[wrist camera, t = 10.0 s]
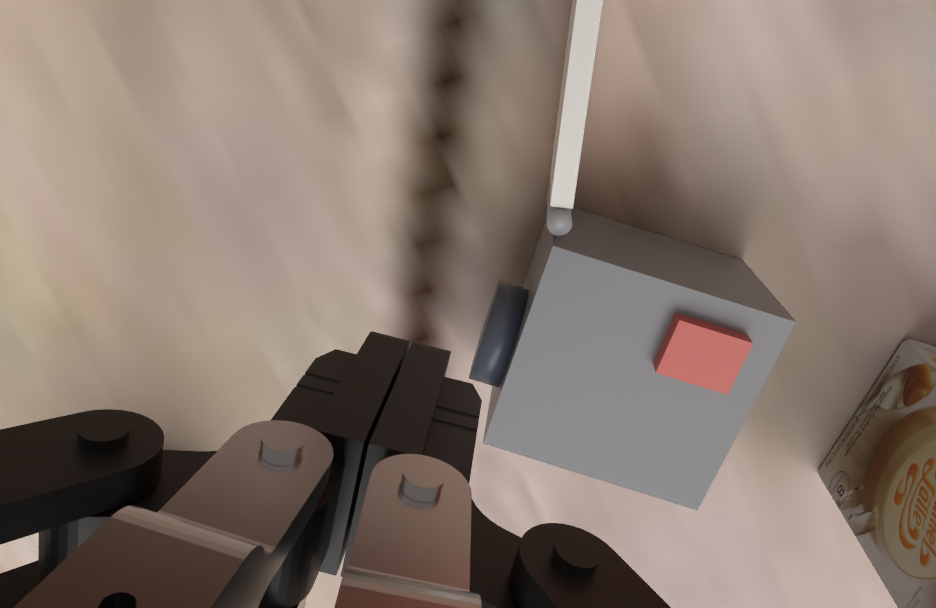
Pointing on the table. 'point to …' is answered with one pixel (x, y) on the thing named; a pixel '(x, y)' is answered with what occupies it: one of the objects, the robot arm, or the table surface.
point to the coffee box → (893, 475)
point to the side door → (572, 113)
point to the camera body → (628, 357)
